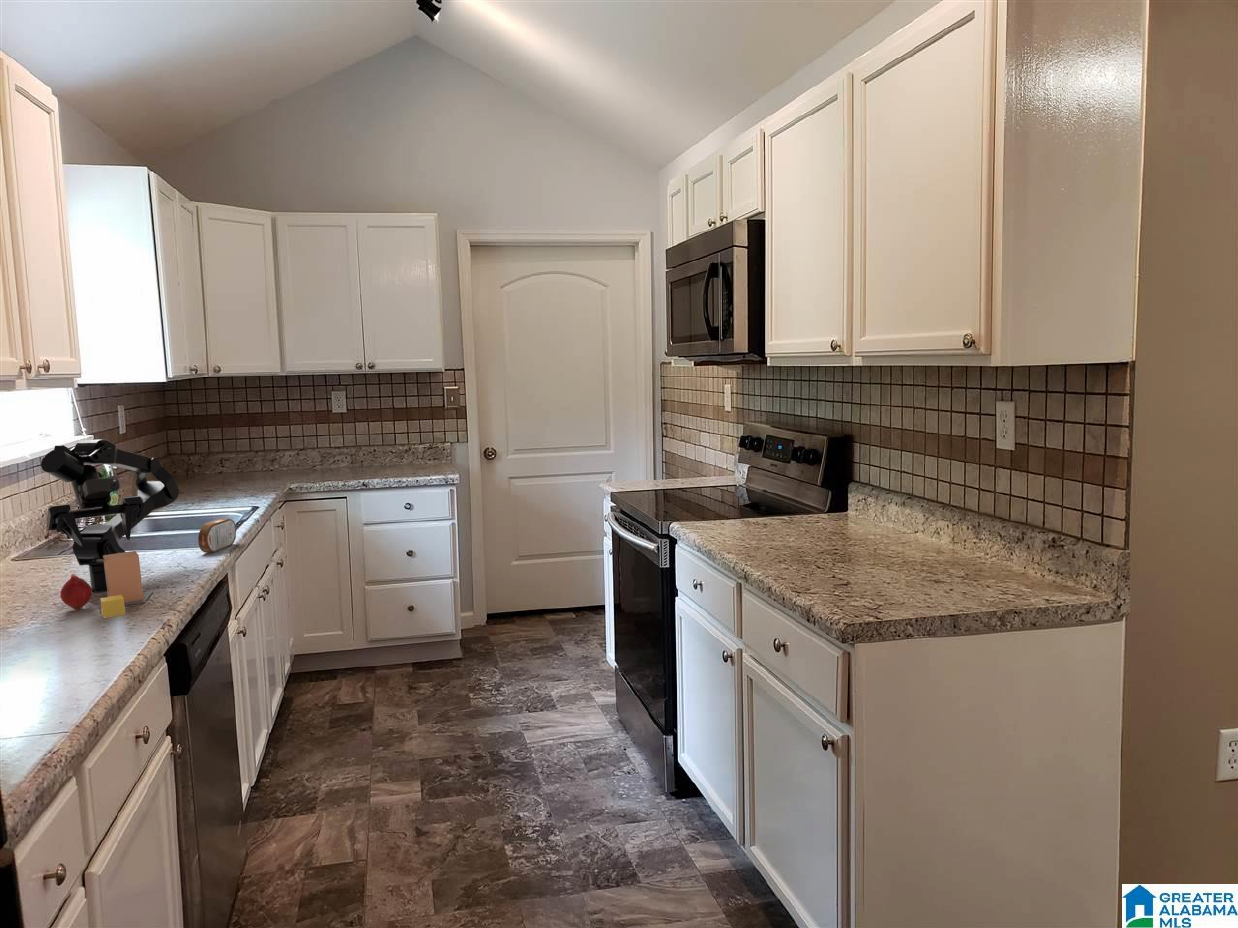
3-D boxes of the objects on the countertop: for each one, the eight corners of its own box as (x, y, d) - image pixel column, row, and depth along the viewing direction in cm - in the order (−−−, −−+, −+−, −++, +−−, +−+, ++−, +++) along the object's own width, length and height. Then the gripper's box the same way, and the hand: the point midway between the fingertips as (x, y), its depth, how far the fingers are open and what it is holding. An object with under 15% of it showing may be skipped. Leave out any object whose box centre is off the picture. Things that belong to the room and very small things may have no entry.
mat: (109, 597, 205) (109, 596, 205) (152, 593, 207) (152, 591, 207) (98, 608, 196) (98, 606, 196) (144, 603, 198) (143, 601, 198)
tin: (229, 543, 260) (226, 515, 259) (239, 543, 260) (236, 514, 259) (198, 556, 246) (195, 525, 244) (209, 555, 245) (206, 525, 244)
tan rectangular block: (108, 598, 202) (102, 555, 201) (140, 593, 206) (135, 550, 205) (110, 604, 197) (105, 560, 196) (143, 599, 201) (138, 555, 199)
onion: (99, 605, 198) (94, 569, 197) (84, 612, 193) (80, 576, 192) (72, 606, 198) (67, 571, 197) (57, 614, 193) (52, 577, 191)
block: (102, 614, 192) (100, 598, 191) (123, 610, 194) (121, 594, 193) (103, 618, 188) (101, 602, 188) (125, 614, 191) (123, 598, 190)
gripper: (44, 469, 195) (61, 525, 188) (138, 461, 208) (157, 513, 201) (39, 502, 201) (56, 557, 195) (130, 491, 214) (149, 543, 208)
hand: (106, 541), depth 199 cm, fingers open, 9 cm apart
